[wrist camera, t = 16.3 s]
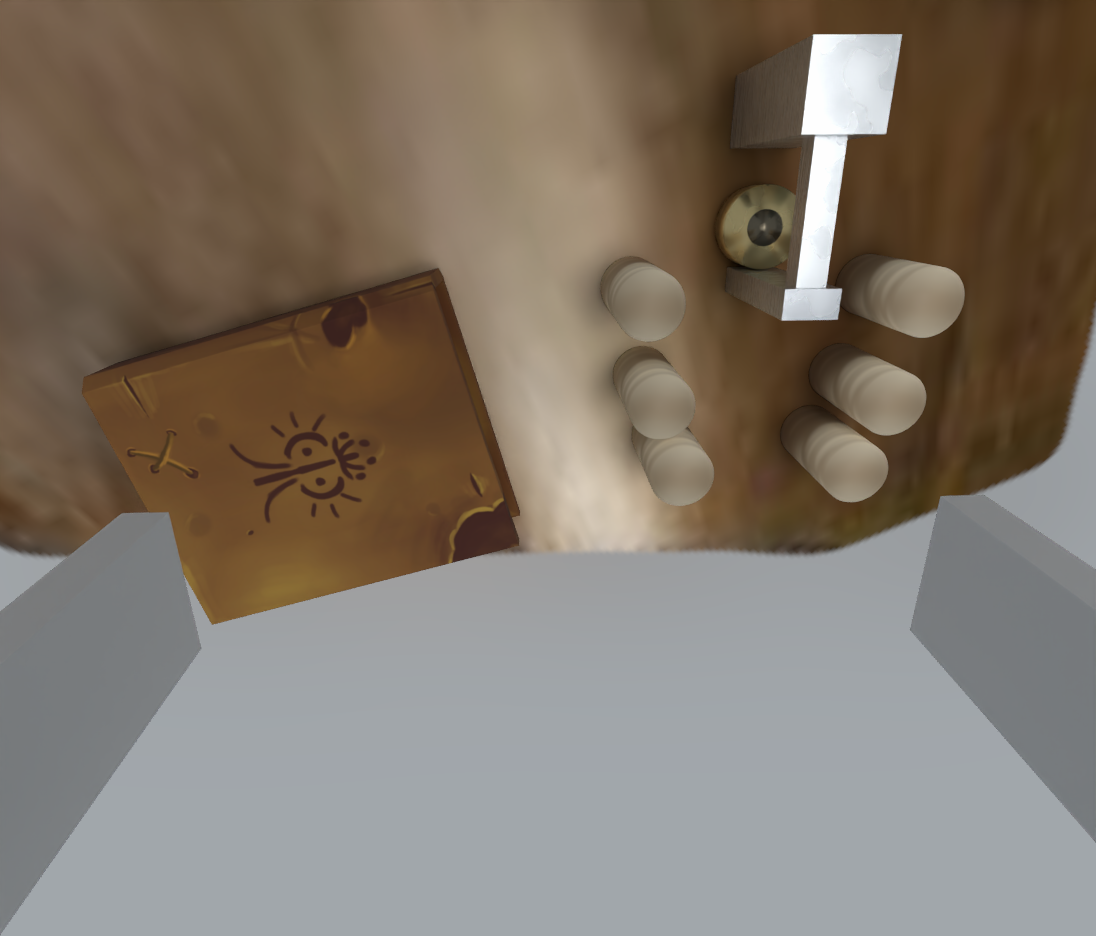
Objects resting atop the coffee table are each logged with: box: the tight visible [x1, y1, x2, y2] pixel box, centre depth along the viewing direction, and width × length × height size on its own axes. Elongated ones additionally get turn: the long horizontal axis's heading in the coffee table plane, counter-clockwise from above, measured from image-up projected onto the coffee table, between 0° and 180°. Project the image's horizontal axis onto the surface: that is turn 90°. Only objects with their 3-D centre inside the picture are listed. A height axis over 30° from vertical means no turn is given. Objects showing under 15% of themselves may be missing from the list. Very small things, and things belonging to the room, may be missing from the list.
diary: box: [82, 268, 520, 624], centre depth 47 cm, size 23×19×6 cm
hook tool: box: [725, 34, 902, 320], centre depth 38 cm, size 13×4×12 cm, turn 0°
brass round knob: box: [715, 184, 796, 269], centre depth 44 cm, size 5×5×3 cm
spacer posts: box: [601, 254, 965, 506], centre depth 45 cm, size 14×20×8 cm
